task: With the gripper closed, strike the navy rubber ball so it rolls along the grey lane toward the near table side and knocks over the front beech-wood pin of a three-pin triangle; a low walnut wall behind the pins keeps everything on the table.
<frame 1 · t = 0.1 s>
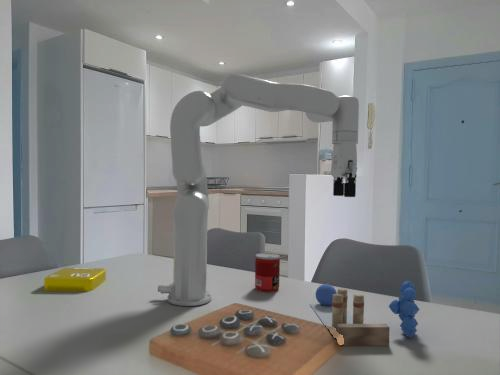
hand: (343, 196, 114), 31 cm above the table, tool pointing down, fingers open, 9 cm apart
grapes: (403, 333, 90), on the table
back wall: (362, 343, 83), on the table
pin left: (337, 331, 90), on the table
canned food: (266, 289, 125), on the table
lane mark: (338, 319, 97), on the table
ball: (326, 294, 109), on the table
element tile: (76, 286, 124), on the table
pin front: (341, 324, 94), on the table
pin right: (357, 331, 90), on the table
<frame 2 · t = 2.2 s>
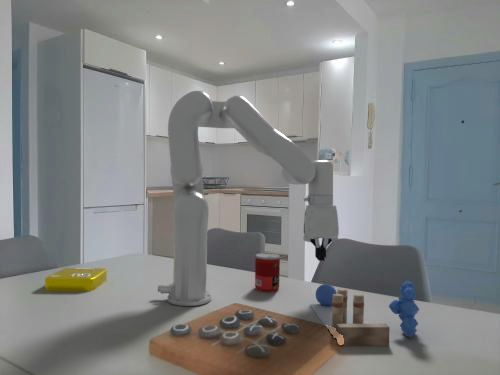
hand: (320, 259, 118), 11 cm above the table, tool pointing down, fingers closed
nothing on the table moved.
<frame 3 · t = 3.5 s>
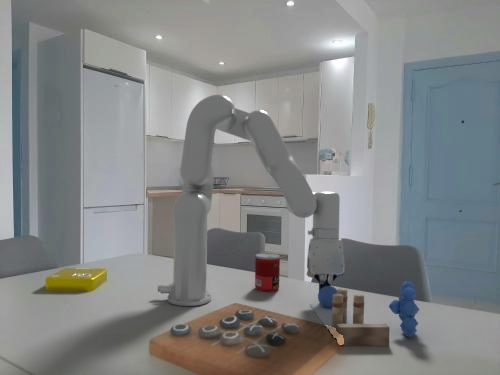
hand: (324, 296, 111), 2 cm above the table, tool pointing down, fingers closed
ball: (328, 296, 107), on the table
everything else where it was.
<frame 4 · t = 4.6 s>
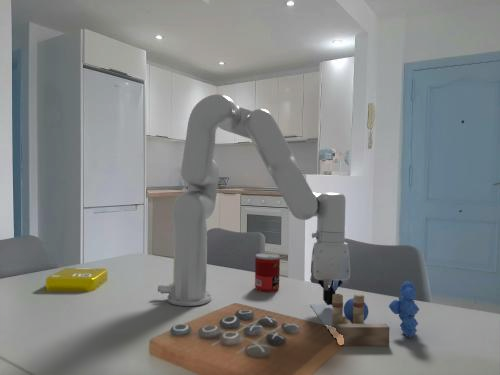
hand: (329, 303, 106), 2 cm above the table, tool pointing down, fingers closed
ball: (355, 310, 96), on the table
pin front: (343, 321, 93), point 1 cm above the table, tilted 90°
everything else where it was.
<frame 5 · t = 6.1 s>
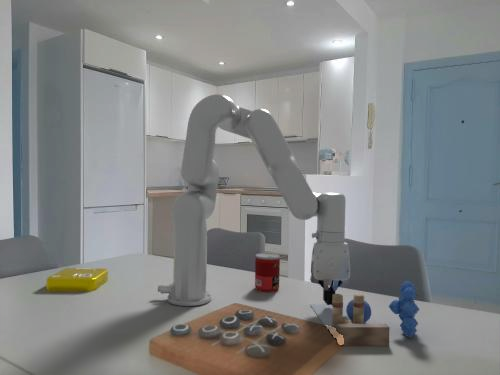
hand: (329, 303, 106), 2 cm above the table, tool pointing down, fingers closed
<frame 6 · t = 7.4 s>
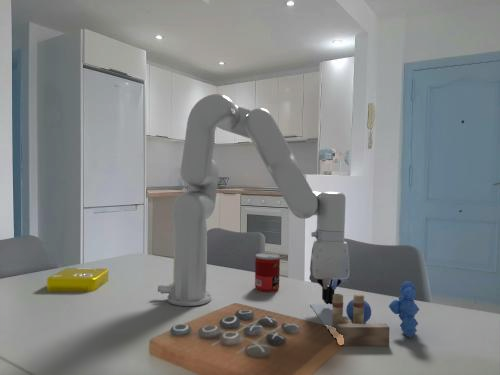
hand: (327, 302, 106), 2 cm above the table, tool pointing down, fingers closed
nothing on the table moved.
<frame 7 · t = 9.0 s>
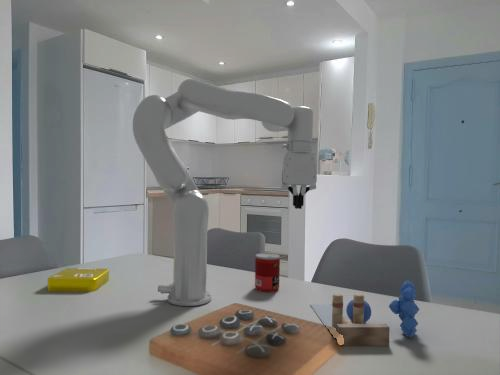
hand: (298, 208, 117), 27 cm above the table, tool pointing down, fingers closed
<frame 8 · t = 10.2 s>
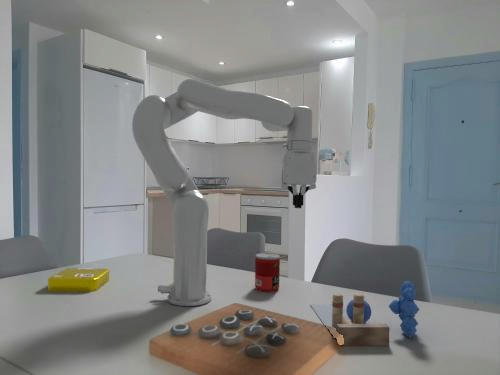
hand: (297, 207, 117), 27 cm above the table, tool pointing down, fingers closed
at the end: pin front tilted 90°; pin front never touched the robot; ball moved 14.4 cm from its start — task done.
